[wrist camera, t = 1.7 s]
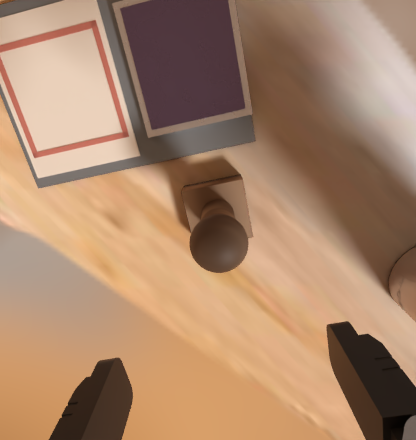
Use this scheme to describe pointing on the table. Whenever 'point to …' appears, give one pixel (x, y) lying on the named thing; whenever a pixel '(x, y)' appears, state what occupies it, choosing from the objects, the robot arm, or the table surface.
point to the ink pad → (184, 62)
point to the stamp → (218, 222)
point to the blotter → (84, 95)
